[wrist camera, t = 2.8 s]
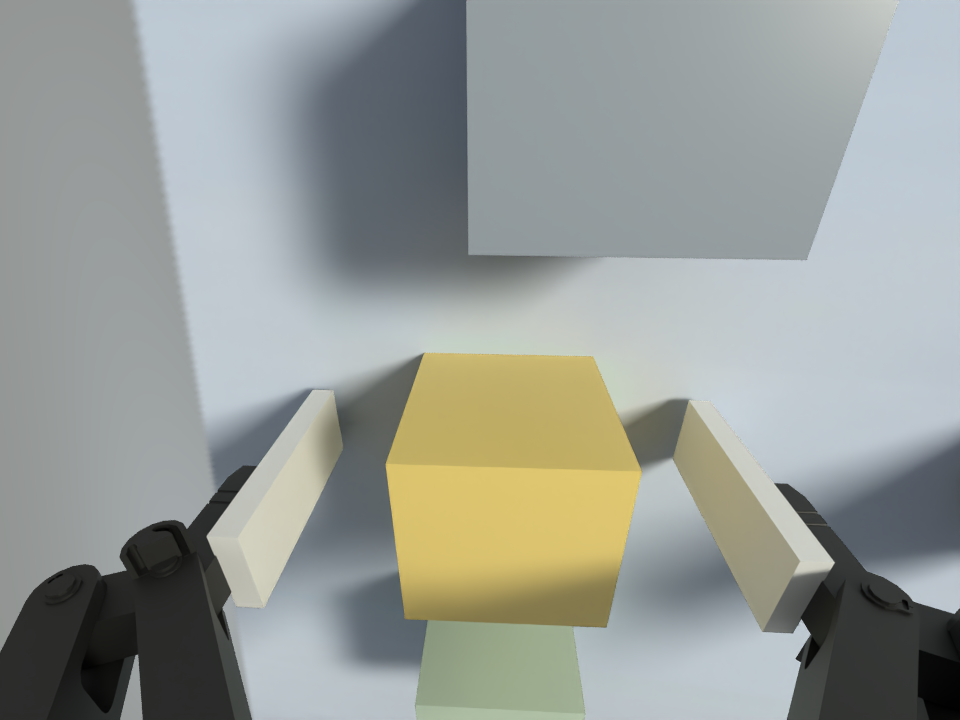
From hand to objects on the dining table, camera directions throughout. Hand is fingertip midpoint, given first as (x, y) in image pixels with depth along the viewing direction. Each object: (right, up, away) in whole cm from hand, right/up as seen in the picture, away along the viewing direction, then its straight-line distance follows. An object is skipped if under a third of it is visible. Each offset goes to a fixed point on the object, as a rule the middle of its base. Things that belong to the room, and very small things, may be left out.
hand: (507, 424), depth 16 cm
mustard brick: (0, 0, 0) cm, 1 cm away
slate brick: (+2, +10, -5) cm, 11 cm away
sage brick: (0, -10, +6) cm, 11 cm away
